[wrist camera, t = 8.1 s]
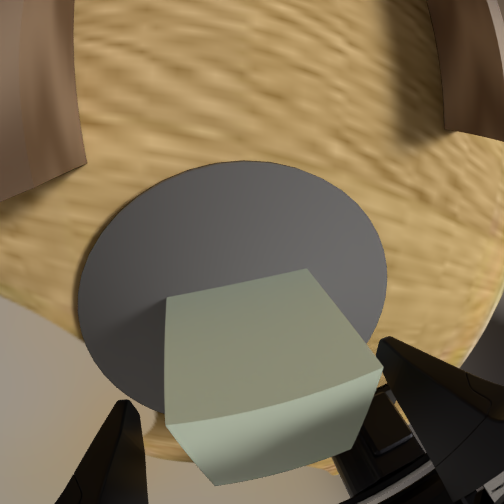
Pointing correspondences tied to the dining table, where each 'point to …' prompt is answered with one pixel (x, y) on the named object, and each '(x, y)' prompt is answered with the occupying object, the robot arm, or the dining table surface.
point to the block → (264, 377)
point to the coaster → (220, 258)
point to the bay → (65, 98)
